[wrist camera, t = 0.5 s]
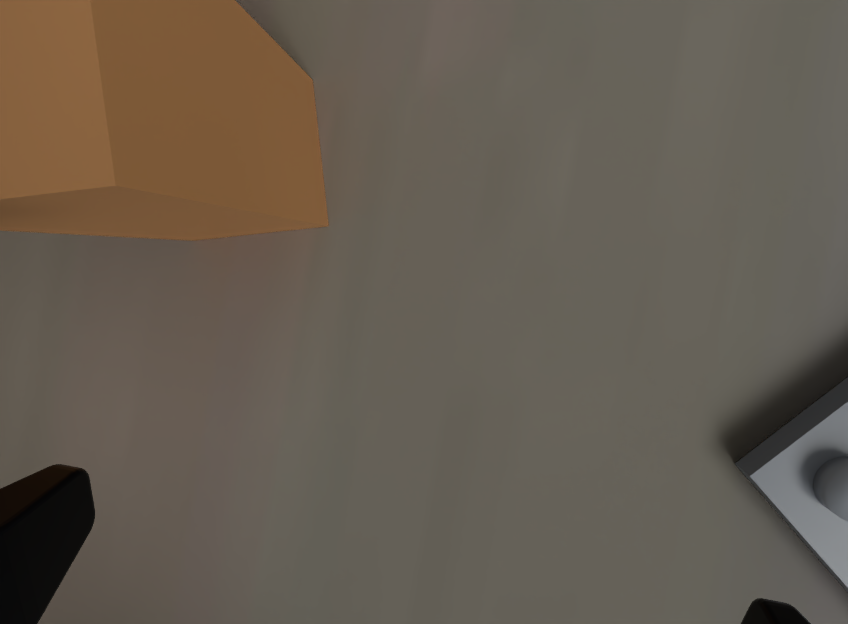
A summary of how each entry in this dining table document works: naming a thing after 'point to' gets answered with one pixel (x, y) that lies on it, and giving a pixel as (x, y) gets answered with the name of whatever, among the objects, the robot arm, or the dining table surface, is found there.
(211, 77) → the orange brick
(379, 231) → the dining table surface
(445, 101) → the dining table surface
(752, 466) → the tower base
